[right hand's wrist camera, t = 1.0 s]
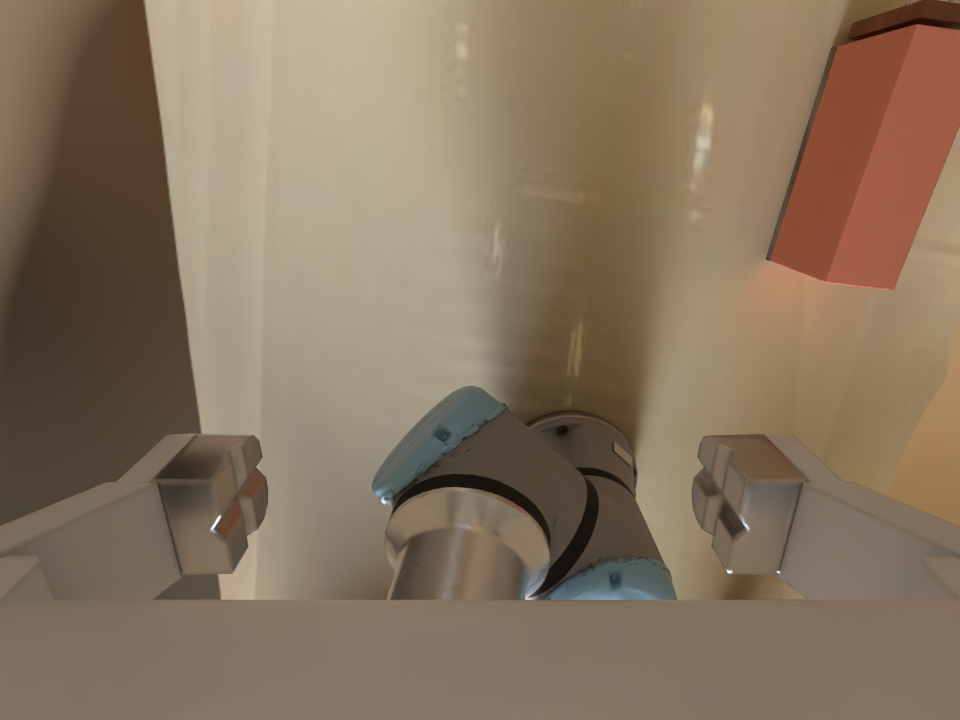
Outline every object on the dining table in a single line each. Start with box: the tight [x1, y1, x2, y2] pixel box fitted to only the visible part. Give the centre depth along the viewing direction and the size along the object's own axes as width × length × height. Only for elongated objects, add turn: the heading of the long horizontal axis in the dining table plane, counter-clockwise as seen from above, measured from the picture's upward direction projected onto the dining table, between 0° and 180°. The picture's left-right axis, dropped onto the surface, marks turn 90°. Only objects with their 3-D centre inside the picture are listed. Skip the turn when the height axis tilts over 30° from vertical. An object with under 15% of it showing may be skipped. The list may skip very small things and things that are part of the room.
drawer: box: [848, 0, 960, 40], centre depth 45 cm, size 23×5×8 cm, turn 173°
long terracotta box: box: [766, 24, 960, 290], centre depth 46 cm, size 19×6×10 cm, turn 173°
